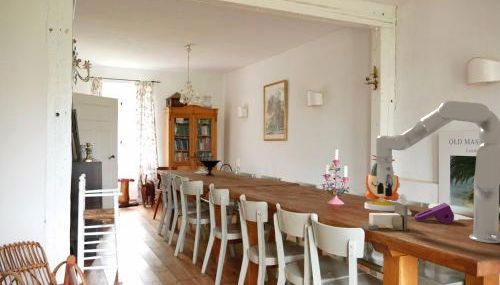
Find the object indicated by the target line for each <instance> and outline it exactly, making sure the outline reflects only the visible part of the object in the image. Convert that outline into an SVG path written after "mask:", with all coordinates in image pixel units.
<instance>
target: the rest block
mask: <svg viewBox="0 0 500 285" xmlns="http://www.w3.org/2000/svg"><path fill="white" fill-rule="evenodd" d="M361 226H362V227H363V228H364V229H366V230H367V231H368V230H369V231H371V230H372V231H373V230H374V231H375V230H376V231H378V230H379V225H372V224H370V223H369V221H364V222H362V225H361Z"/></svg>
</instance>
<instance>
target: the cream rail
mask: <svg viewBox="0 0 500 285" xmlns="http://www.w3.org/2000/svg"><path fill="white" fill-rule="evenodd" d="M368 215H369V216H368V222H369V223H370V224H372V225H378V226H385V225H392V217H401V215H400V214H397V213H394V212H369V214H368Z"/></svg>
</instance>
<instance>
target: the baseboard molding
mask: <svg viewBox="0 0 500 285" xmlns="http://www.w3.org/2000/svg"><path fill="white" fill-rule="evenodd" d="M425 210H428V208H427V207H426V208H425ZM453 214H454V220H453V221H458V222H459V221H460V222H461V221H462V222H463V221H467V222H469V221H472V222H473V218H471V217H468V216H465V215H461V214H459V213H455V212H453Z"/></svg>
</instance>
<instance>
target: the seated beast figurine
mask: <svg viewBox="0 0 500 285" xmlns="http://www.w3.org/2000/svg"><path fill="white" fill-rule="evenodd" d="M398 198H399V199H398V201H399V202H398V203H401V204H404V205H407V203H406V202H407V197H406V196H405V194H404V193H401V194H399V197H398ZM412 213H413V212H412V211H411V210H410V209H408V212H407V216H412V215H413V214H412Z"/></svg>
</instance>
